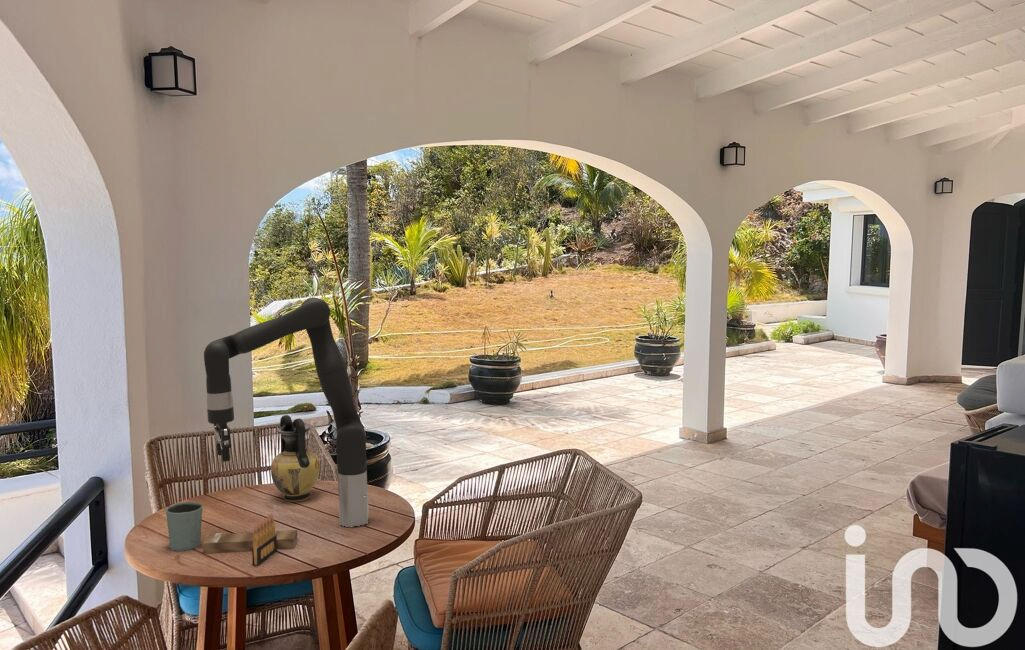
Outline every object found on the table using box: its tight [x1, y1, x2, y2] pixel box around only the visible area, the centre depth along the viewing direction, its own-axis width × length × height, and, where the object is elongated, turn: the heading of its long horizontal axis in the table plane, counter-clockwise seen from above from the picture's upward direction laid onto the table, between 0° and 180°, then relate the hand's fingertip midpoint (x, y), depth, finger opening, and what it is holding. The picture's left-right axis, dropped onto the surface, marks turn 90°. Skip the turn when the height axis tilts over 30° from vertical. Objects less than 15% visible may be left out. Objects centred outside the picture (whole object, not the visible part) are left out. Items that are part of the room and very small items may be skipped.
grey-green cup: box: [165, 501, 204, 552], centre depth 224 cm, size 10×10×12 cm
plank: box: [202, 529, 299, 554], centre depth 223 cm, size 26×7×3 cm, turn 97°
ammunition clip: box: [251, 512, 278, 567], centre depth 214 cm, size 11×2×12 cm, turn 168°
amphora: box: [270, 414, 321, 503], centre depth 265 cm, size 18×17×30 cm
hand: (223, 457), depth 227 cm, fingers open, 8 cm apart
